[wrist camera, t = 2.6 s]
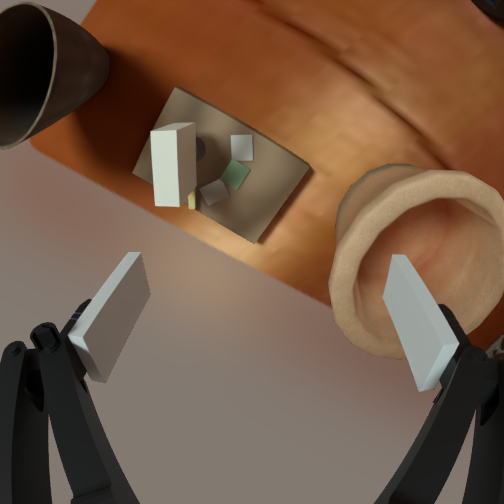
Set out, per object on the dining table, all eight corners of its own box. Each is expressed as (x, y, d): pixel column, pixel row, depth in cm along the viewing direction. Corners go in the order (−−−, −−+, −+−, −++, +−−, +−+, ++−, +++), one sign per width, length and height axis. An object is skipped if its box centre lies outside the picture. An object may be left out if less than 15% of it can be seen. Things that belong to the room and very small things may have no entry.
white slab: (183, 207, 37) (159, 240, 30) (180, 120, 32) (150, 131, 24) (202, 207, 37) (182, 241, 30) (201, 120, 32) (176, 130, 24)
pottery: (387, 107, 32) (444, 120, 19) (482, 213, 36) (538, 263, 24) (281, 236, 41) (282, 304, 29) (389, 311, 46) (415, 380, 33)
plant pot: (47, 126, 35) (-33, 154, 21) (50, 31, 28) (-31, 28, 14) (133, 120, 35) (55, 144, 21) (140, 11, 27) (66, -19, 14)
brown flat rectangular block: (138, 169, 38) (131, 173, 36) (180, 87, 33) (174, 87, 31) (255, 237, 42) (254, 244, 40) (308, 163, 36) (310, 167, 34)
